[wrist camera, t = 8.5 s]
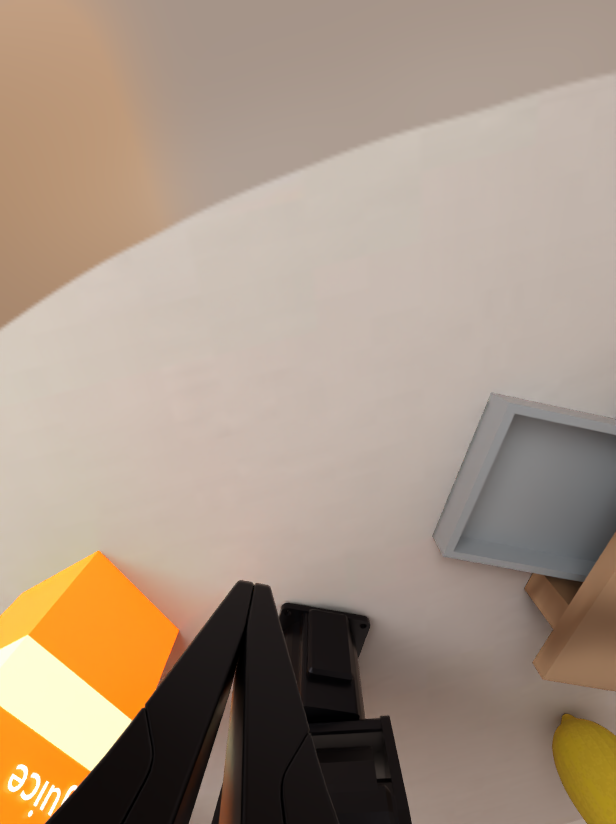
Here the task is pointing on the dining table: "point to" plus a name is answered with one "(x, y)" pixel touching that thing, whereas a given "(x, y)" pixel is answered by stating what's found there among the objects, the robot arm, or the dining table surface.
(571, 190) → the dining table surface
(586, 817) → the lemon
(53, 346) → the dining table surface
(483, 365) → the dining table surface
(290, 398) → the dining table surface
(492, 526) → the grey open tray
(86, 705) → the orange juice
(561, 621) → the bridge
